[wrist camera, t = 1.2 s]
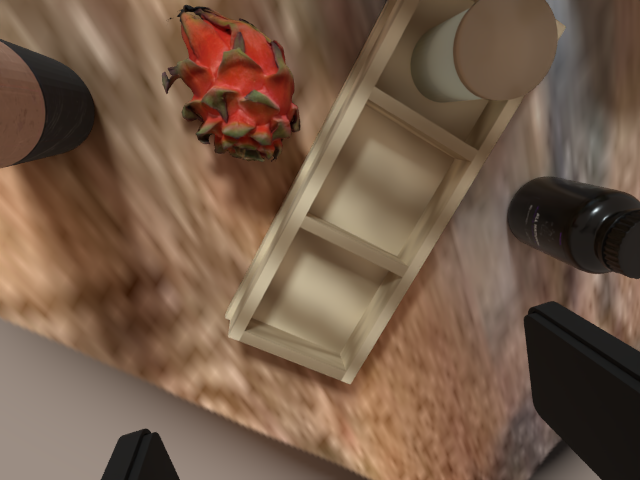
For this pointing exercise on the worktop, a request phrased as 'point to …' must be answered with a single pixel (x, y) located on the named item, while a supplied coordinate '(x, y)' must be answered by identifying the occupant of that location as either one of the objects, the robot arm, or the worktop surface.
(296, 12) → the worktop surface
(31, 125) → the travel mug
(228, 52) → the dragon fruit
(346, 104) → the rack
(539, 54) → the canister
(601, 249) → the supplement bottle
